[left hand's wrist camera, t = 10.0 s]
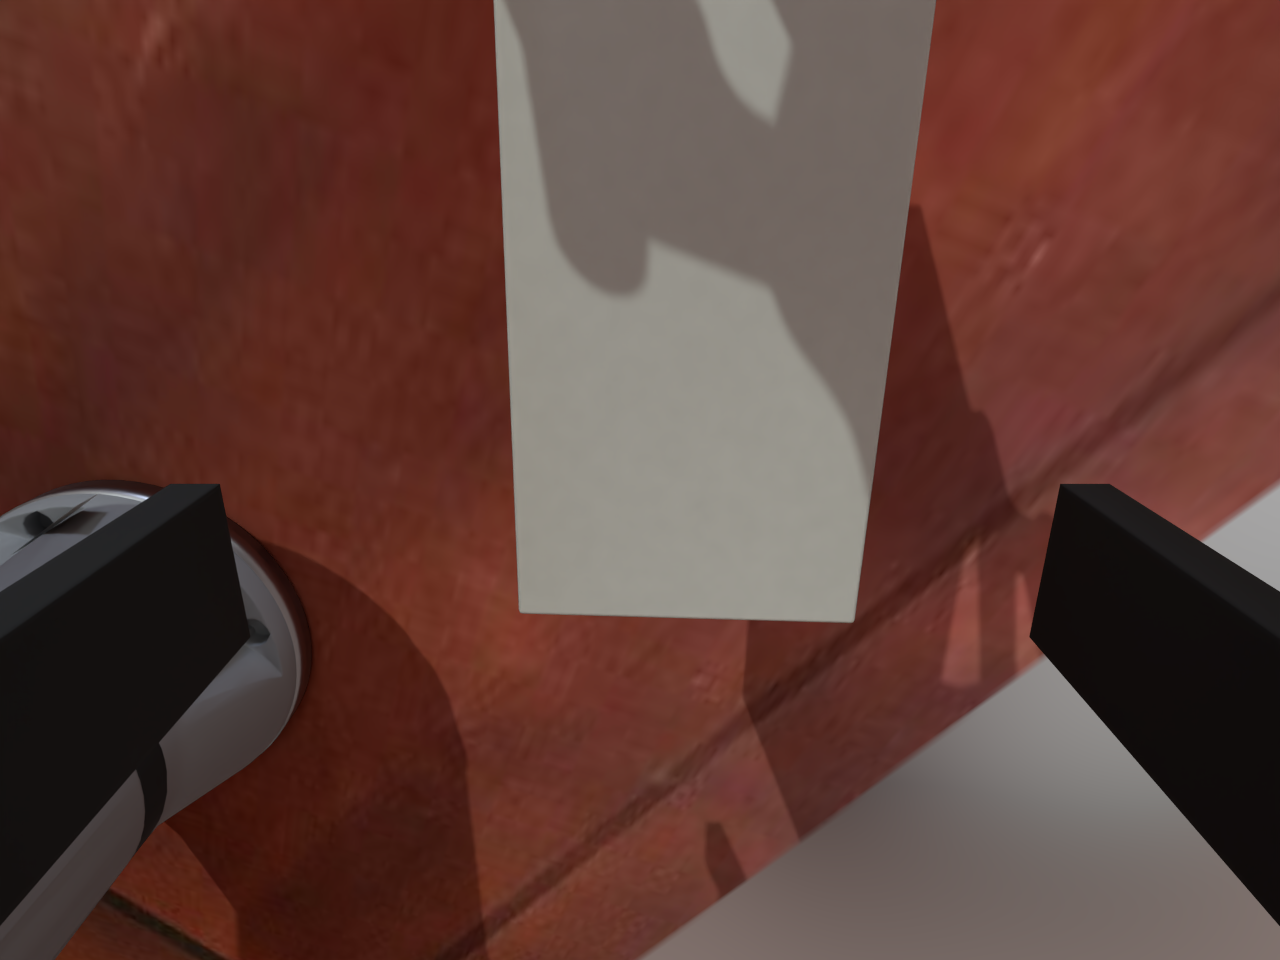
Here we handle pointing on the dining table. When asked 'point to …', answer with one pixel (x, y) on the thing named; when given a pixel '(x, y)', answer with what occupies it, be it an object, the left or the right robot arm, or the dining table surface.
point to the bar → (701, 294)
